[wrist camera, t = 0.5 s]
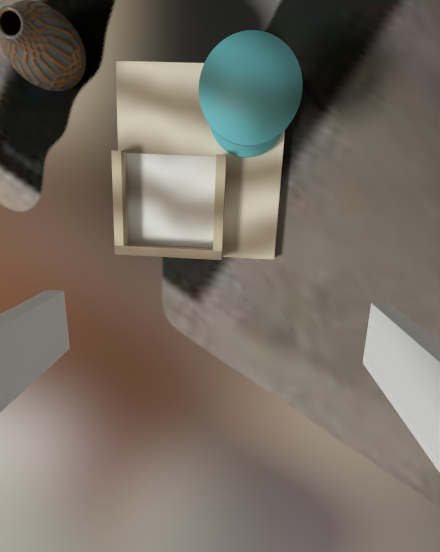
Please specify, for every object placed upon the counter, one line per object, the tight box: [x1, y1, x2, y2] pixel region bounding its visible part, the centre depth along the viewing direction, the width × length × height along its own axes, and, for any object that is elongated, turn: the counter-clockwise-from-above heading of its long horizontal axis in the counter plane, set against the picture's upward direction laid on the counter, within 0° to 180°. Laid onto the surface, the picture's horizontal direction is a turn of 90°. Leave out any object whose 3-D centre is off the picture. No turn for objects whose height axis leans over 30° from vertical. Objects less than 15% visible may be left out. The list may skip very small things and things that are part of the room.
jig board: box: [112, 30, 303, 260], centre depth 32 cm, size 20×18×11 cm
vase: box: [0, 0, 86, 91], centre depth 31 cm, size 7×7×9 cm
